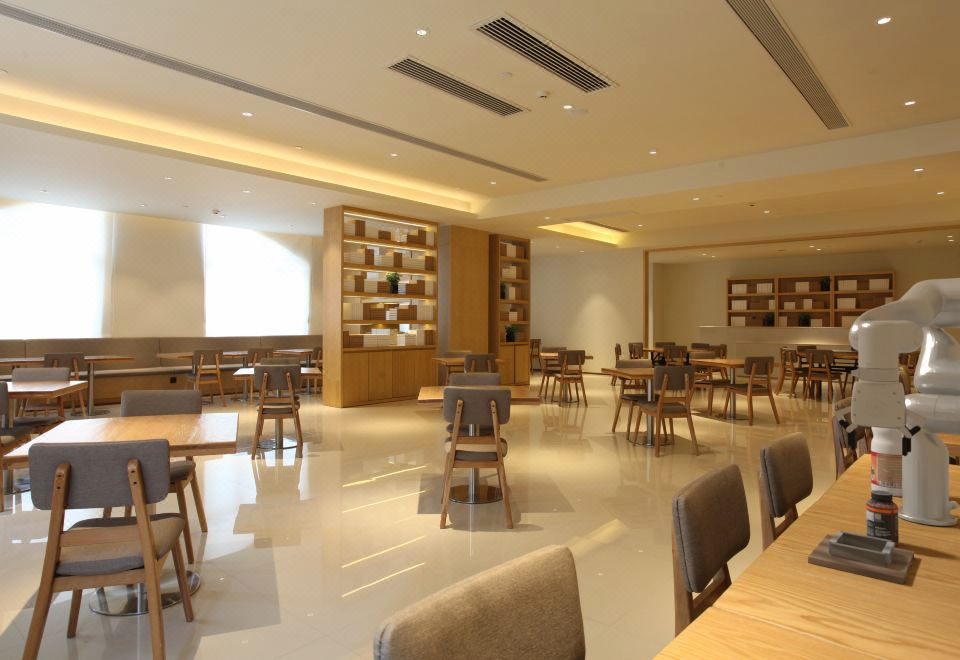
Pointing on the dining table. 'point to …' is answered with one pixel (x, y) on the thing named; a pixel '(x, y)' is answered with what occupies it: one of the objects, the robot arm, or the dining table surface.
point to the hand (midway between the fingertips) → (878, 452)
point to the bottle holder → (863, 556)
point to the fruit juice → (886, 460)
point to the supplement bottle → (882, 516)
